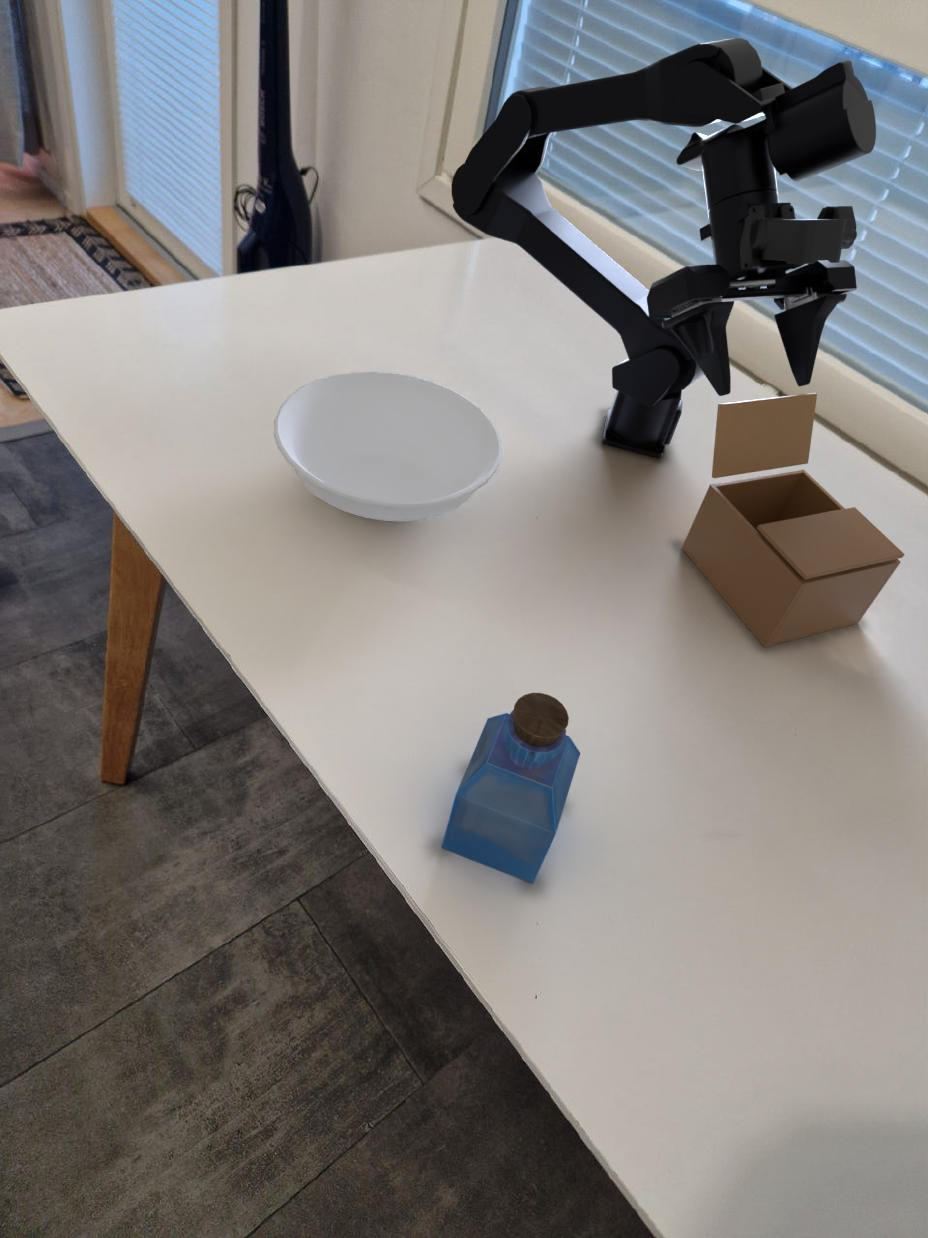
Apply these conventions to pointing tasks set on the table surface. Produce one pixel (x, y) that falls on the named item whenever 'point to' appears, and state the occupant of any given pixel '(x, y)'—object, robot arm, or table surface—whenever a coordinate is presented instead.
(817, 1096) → the table surface
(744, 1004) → the table surface
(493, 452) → the bowl
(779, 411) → the flap
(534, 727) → the perfume bottle
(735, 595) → the carton
